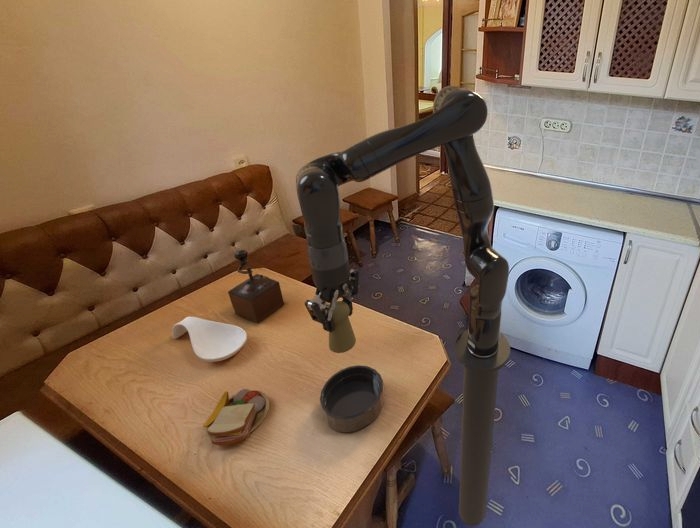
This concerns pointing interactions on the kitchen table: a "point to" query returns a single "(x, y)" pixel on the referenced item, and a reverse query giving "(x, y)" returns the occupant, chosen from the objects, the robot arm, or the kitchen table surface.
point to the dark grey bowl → (352, 398)
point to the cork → (341, 329)
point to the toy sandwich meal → (236, 416)
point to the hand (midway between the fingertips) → (339, 321)
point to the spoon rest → (211, 338)
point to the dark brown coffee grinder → (255, 294)
